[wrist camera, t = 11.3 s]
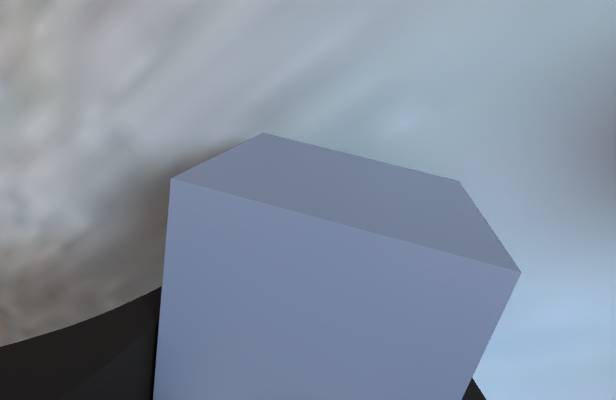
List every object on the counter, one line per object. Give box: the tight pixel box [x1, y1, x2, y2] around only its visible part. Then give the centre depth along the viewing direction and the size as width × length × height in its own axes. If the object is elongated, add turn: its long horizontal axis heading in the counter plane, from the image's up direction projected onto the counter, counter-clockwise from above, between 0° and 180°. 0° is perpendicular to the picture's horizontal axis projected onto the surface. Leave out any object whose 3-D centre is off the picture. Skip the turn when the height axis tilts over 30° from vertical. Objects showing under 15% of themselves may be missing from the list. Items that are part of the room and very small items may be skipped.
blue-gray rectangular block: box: [153, 133, 521, 400], centre depth 10 cm, size 9×6×5 cm
